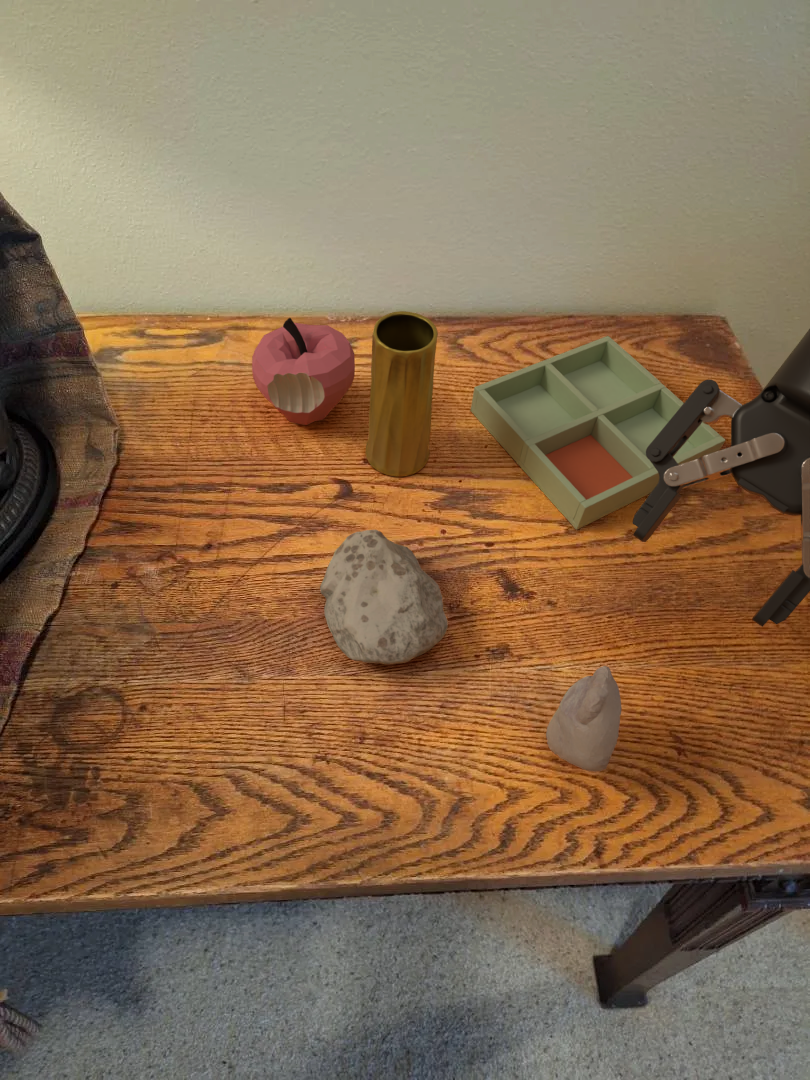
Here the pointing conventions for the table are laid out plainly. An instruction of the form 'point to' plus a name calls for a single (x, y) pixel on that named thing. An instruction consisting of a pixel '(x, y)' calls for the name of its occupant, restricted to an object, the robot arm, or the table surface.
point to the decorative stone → (381, 601)
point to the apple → (303, 370)
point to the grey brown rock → (587, 722)
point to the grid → (586, 427)
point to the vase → (401, 393)
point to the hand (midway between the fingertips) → (696, 579)
